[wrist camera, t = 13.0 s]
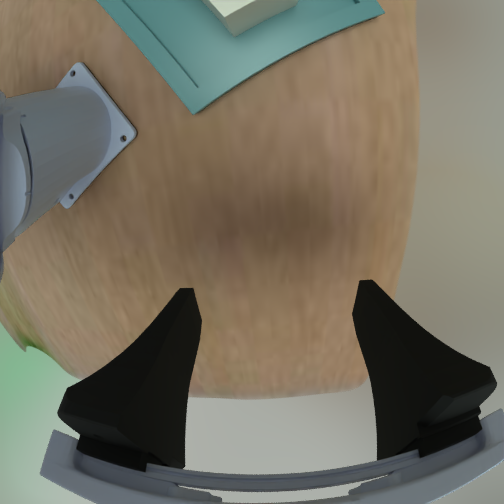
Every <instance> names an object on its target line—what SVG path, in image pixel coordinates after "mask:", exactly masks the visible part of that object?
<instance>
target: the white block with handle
mask: <svg viewBox="0 0 504 504" xmlns="http://www.w3.org/2000/svg"><path fill="white" fill-rule="evenodd" d="M202 1H203V3H204V4H205V5H206V6H207V7H208V8H209V9H210V10H211V11H212V12H213V13H214V15H215V16H216V17H217V18H218V19H219V20H220V21H221V22H222V24H223V25H224V26H225V27H226V28H227V29H228V31H229V32H230V33H231V34H232V35H233V37H236V36H238V35H239V34H241V33H243V32H245V31H246V30H248V29H250V28H252V27H254V26H255V25H257V24H259V23H261V22H263V21H265V20H267V19H269V18H271V17H273V16H275V15H277V14H279V13H281V12H283V11H285V10H287V9H290V8H292V7H294V6H296V5H297V2H298V0H202Z"/></svg>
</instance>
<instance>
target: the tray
mask: <svg viewBox="0 0 504 504" xmlns="http://www.w3.org/2000/svg"><path fill="white" fill-rule="evenodd" d="M96 1H97V2H98V3H99V4H100V5H101V6H102V7H103V8H104V9H105V10H106V12H107V13H108V14H109V15H110V16H111V17H112V18H113V19H114V20H115V22H116V23H117V24H118V25H119V26H120V27H121V28H122V30H123V31H124V32H125V33H126V34H127V35H128V37H129V38H130V39H131V40H132V41H133V42H134V43H135V45H136V46H137V47H138V48H139V49H140V51H141V52H142V53H143V54H144V55H145V56H146V58H147V59H148V60H149V61H150V62H151V64H152V65H153V66H154V67H155V68H156V70H157V71H158V72H159V73H160V75H161V76H162V77H163V78H164V79H165V81H166V82H167V83H168V84H169V86H170V87H171V88H172V89H173V91H174V92H175V93H176V94H177V96H178V97H179V98H180V99H181V101H182V102H183V103H184V104H185V106H186V107H187V108H188V109H189V111H190V112H191V113H192V114H193V115H194V114H197V113H199V112H200V111H202V110H203V109H204V108H206V107H207V106H208V105H210V104H211V103H213V102H214V101H216V100H217V99H218V98H220V97H221V96H223V95H224V94H226V93H227V92H229V91H230V90H232V89H233V88H235V87H236V86H238V85H239V84H241V83H243V82H244V81H246V80H247V79H249V78H251V77H252V76H254V75H255V74H257V73H259V72H261V71H262V70H264V69H266V68H267V67H269V66H271V65H273V64H274V63H276V62H278V61H280V60H282V59H283V58H285V57H287V56H289V55H291V54H293V53H295V52H297V51H299V50H301V49H303V48H305V47H307V46H309V45H311V44H313V43H315V42H317V41H319V40H321V39H323V38H326V37H328V36H330V35H332V34H335V33H337V32H339V31H342V30H344V29H347V28H349V27H352V26H354V25H357V24H359V23H362V22H365V21H367V20H370V19H373V18H376V17H378V16H380V15H382V14H384V13H385V12H384V10H383V9H382V8H381V6H380V5H379V3H378V2H377V1H376V0H298V2H297V5H296V6H294V7H292V8H290V9H287V10H285V11H283V12H281V13H279V14H277V15H275V16H273V17H271V18H269V19H267V20H265V21H263V22H261V23H259V24H257V25H255V26H254V27H252V28H250V29H248V30H246V31H245V32H243V33H241V34H239V35H238V36H236V37H233V35H232V34H231V33H230V32H229V31H228V29H227V28H226V27H225V26H224V25H223V24H222V22H221V21H220V20H219V19H218V18H217V17H216V16H215V15H214V13H213V12H212V11H211V10H210V9H209V8H208V7H207V6H206V5H205V4H204V3H203V1H202V0H96Z"/></svg>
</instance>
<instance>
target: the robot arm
mask: <svg viewBox="0 0 504 504" xmlns="http://www.w3.org/2000/svg"><path fill="white" fill-rule="evenodd" d="M74 71H75V76H73V73H74ZM136 134H137V133H136V129H135V128H134V127H133V125H132V124H131V123H130V122H129V120H128V119H127V118H126V117H125V115H124V114H123V113H122V112H121V110H120V109H119V108H118V107H117V105H116V104H115V103H114V101H113V100H112V99H111V98H110V96H109V95H108V94H107V93H106V91H105V90H104V89H103V88H102V86H101V85H100V84H99V82H98V81H97V80H96V79H95V77H94V76H93V75H92V73H91V72H90V71H89V70H88V68H87V67H86V66H85V65H84V63H82V62H78V63H76V64H75V65H74V66H73V67H72V68H71V69H70V70H69V72H68V73H67V74H66V75H65V77H64V78H63V79H62V81H61V82H60V83H59V84H58V86H57V87H56V88H55V89H50V90H44V91H38V92H33V93H28V94H23V95H19V96H15V97H10V98H6V96H5V94H4V93H3V92H2V91H0V282H1V279H2V275H3V270H4V260H3V253H2V252H4V251H5V250H6V249H7V248H8V247H9V246H10V245H11V244H12V243H13V242H14V241H15V237H17V236H19V235H20V234H21V233H23V232H24V231H25V230H26V229H27V228H28V227H29V226H31V225H32V224H33V223H34V222H35V221H36V220H38V219H39V218H40V217H41V216H42V215H44V214H45V213H46V212H47V211H49V210H50V209H51V208H52V207H54V206H55V205H56V204H57V203H59V202H60V203H61V204H62V205H63V207H65V208H66V209H68V208H70V207H71V206H72V205H73V204H74V202H75V201H76V200H77V199H78V198H79V196H80V195H81V194H82V193H83V192H84V190H85V189H86V188H87V187H88V186H89V185H90V184H91V182H92V181H93V180H94V179H95V178H96V177H97V176H98V175H99V174H100V172H101V171H102V170H103V169H104V168H105V167H106V166H107V165H108V164H109V163H110V162H111V161H112V160H113V159H114V158H115V157H116V156H117V155H118V154H119V153H120V152H121V151H122V150H123V149H124V148H125V147H126V146H127V145H128V144H129V143H130V142H131V141H132V140H133V139H134V138H135V137H136ZM123 135H125V136H126V138H127V140H126V141H124V140H123ZM72 194H73V196H74V197H72ZM352 316H353V321H354V326H355V331H356V335H357V338H358V341H359V345H360V348H361V351H362V354H363V357H364V360H365V363H366V367H367V370H368V373H369V377H370V381H371V387H372V393H373V399H374V407H375V416H376V428H377V461H374V462H369V463H365V464H360V465H354V466H349V467H343V468H337V469H330V470H323V471H314V472H305V473H291V474H269V475H245V474H223V473H210V472H200V471H192V470H184V469H183V468H184V467H185V428H186V413H187V400H188V392H189V386H190V380H191V376H192V372H193V368H194V363H195V359H196V355H197V351H198V346H199V342H200V334H201V325H202V319H201V315H200V312H199V308H198V304H197V301H196V297H195V293H194V289H193V288H180V289H179V290H178V291H177V292H176V293H175V295H174V296H173V297H172V299H171V300H170V301H169V302H168V304H167V305H166V306H165V307H164V309H163V310H162V311H161V312H160V313H159V315H158V316H157V317H156V318H155V319H154V321H153V322H152V323H151V324H150V325H149V326H148V327H147V328H146V330H145V331H144V332H143V333H142V334H141V335H140V336H139V337H138V338H137V339H136V340H135V341H134V342H133V343H132V344H131V345H130V346H129V347H128V348H127V349H125V350H124V351H123V352H122V353H121V354H120V355H118V356H117V357H116V358H114V359H113V360H112V361H111V362H109V363H108V364H107V365H105V366H104V367H103V368H101V369H100V370H98V371H97V372H95V373H93V374H92V375H90V376H89V377H87V378H85V379H83V380H82V381H80V382H78V383H76V384H74V385H72V386H70V387H68V388H67V390H66V392H65V394H64V397H63V399H62V402H61V404H60V407H59V409H58V412H57V413H58V416H59V418H60V419H61V420H62V421H63V422H64V423H66V424H67V425H68V426H69V427H71V428H72V429H73V430H75V431H76V432H78V433H79V434H80V438H79V440H78V439H76V438H74V437H72V436H69V435H67V434H64V433H61V432H59V431H57V430H53V432H52V435H51V438H50V441H49V444H48V447H47V451H46V454H45V457H44V460H43V464H42V468H41V471H40V474H41V476H43V477H45V478H46V479H48V480H50V481H52V482H54V483H56V484H57V485H59V486H61V487H63V488H65V489H67V490H69V491H71V492H73V493H75V494H77V495H79V496H81V497H83V498H85V499H88V500H90V501H92V502H94V503H97V504H429V503H431V502H433V501H436V500H438V499H440V498H442V497H444V496H446V495H448V494H450V493H452V492H454V491H455V490H457V489H459V488H461V487H463V486H464V485H466V484H468V483H469V482H471V481H473V480H475V479H476V478H478V477H479V476H481V475H483V474H484V473H486V472H487V471H489V470H491V469H492V468H494V467H495V466H497V465H498V464H500V463H501V462H502V461H504V413H503V410H502V409H499V410H497V411H495V412H493V413H491V414H489V415H487V416H486V417H484V418H482V419H481V420H479V417H478V415H479V414H480V413H481V410H480V407H479V406H480V405H481V404H482V403H483V402H484V401H485V400H486V399H487V398H488V397H489V396H490V395H491V394H492V393H493V391H494V390H495V388H496V386H497V382H496V380H495V378H494V375H493V373H492V371H491V369H490V367H488V366H486V365H483V364H481V363H479V362H476V361H475V360H472V359H470V358H468V357H466V356H465V355H463V354H461V353H459V352H457V351H455V350H454V349H452V348H450V347H449V346H447V345H446V344H444V343H443V342H441V341H440V340H438V339H437V338H436V337H434V336H433V335H432V334H430V333H429V332H427V331H426V330H425V329H424V328H423V327H421V326H420V325H419V324H418V323H417V322H416V321H414V320H413V319H412V318H411V317H410V316H409V315H408V314H407V313H406V312H405V311H403V310H402V309H401V308H400V307H399V306H398V305H397V304H396V303H395V302H394V301H393V300H392V299H391V298H390V297H389V296H388V295H387V294H386V293H385V292H384V291H383V290H382V289H381V288H380V287H379V286H378V285H377V284H376V283H375V282H374V281H373V280H360V281H359V285H358V290H357V295H356V299H355V304H354V308H353V312H352ZM388 474H389V475H388ZM385 475H388V476H385ZM380 476H385V477H382V478H379V479H375V480H372V481H369V482H365V483H362V484H361V485H360V486H359V487H357V488H354V489H351V490H349V492H348V493H349V495H347V496H341V497H335V498H327V499H319V500H309V501H298V502H285V503H224V502H222V498H221V497H217V496H213V495H211V494H210V493H209V492H204V491H199V490H193V489H188V488H183V487H179V486H186V487H193V488H201V489H210V490H222V491H240V492H278V491H296V490H307V489H317V488H325V487H332V486H338V485H344V484H349V483H354V482H359V481H364V480H369V479H373V478H377V477H380ZM178 485H179V486H178Z"/></svg>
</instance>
